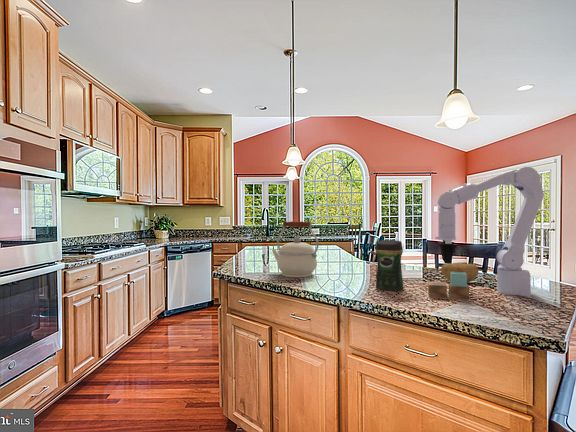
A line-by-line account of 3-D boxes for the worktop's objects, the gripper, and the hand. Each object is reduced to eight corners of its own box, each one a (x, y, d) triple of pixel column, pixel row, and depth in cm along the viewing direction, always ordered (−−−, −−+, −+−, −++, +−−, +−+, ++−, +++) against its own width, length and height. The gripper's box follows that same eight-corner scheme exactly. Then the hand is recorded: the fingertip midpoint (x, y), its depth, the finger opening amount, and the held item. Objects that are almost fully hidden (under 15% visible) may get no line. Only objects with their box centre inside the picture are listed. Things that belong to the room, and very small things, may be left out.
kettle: (327, 274, 162) (327, 221, 162) (308, 280, 147) (307, 221, 147) (282, 269, 176) (282, 220, 176) (260, 275, 160) (260, 221, 160)
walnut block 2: (466, 296, 115) (466, 284, 115) (469, 299, 110) (469, 287, 110) (448, 294, 117) (448, 283, 117) (450, 298, 112) (450, 286, 112)
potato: (442, 278, 150) (442, 260, 150) (479, 282, 143) (479, 262, 143) (438, 282, 142) (438, 263, 142) (477, 286, 135) (477, 265, 135)
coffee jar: (405, 289, 129) (405, 239, 129) (399, 293, 122) (399, 241, 122) (379, 286, 134) (379, 238, 134) (373, 290, 127) (373, 240, 127)
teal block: (465, 284, 115) (465, 272, 115) (466, 287, 111) (467, 274, 111) (450, 283, 117) (450, 271, 117) (451, 286, 113) (451, 273, 113)
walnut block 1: (445, 294, 118) (445, 282, 118) (446, 298, 113) (446, 286, 113) (428, 293, 120) (428, 281, 120) (428, 296, 114) (428, 284, 114)
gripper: (434, 224, 136) (434, 259, 136) (436, 225, 122) (436, 264, 122) (453, 224, 133) (453, 259, 134) (458, 225, 120) (458, 265, 120)
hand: (446, 262), depth 128 cm, fingers open, 7 cm apart
